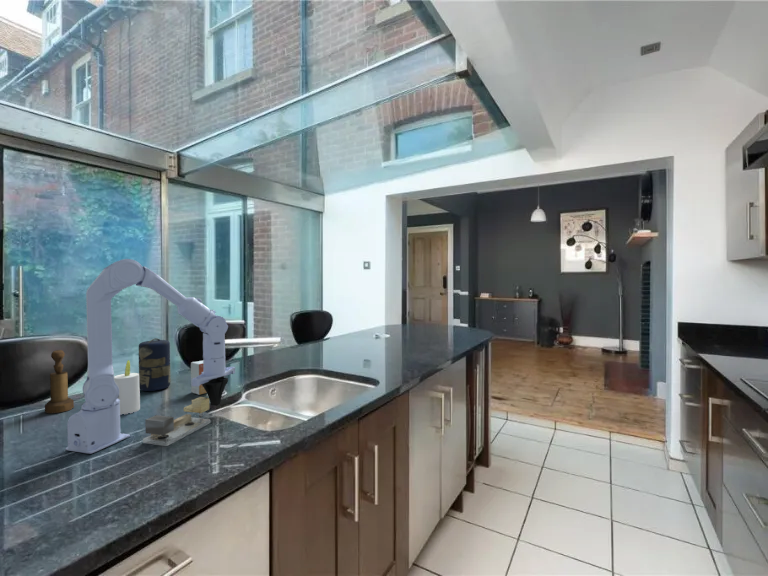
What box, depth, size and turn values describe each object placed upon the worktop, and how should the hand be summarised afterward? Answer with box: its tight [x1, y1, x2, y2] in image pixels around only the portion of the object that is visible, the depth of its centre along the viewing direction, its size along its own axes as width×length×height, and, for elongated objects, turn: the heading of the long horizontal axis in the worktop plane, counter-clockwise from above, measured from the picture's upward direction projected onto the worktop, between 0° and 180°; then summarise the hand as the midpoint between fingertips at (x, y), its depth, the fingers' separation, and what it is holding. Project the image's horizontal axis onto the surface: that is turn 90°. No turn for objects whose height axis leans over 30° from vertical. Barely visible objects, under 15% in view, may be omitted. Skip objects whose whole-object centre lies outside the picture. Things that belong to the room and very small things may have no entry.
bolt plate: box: [142, 416, 211, 447], centre depth 93 cm, size 14×7×1 cm, turn 165°
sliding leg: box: [183, 396, 210, 418], centre depth 99 cm, size 3×6×5 cm, turn 75°
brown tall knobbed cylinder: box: [44, 349, 75, 414], centre depth 110 cm, size 7×6×18 cm
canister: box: [138, 337, 172, 392], centre depth 130 cm, size 10×10×18 cm
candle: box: [114, 359, 141, 416], centre depth 108 cm, size 6×6×15 cm
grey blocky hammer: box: [144, 413, 192, 437], centre depth 92 cm, size 12×5×4 cm, turn 165°
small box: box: [190, 360, 207, 396], centre depth 127 cm, size 8×6×10 cm
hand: (215, 404), depth 105 cm, fingers closed
